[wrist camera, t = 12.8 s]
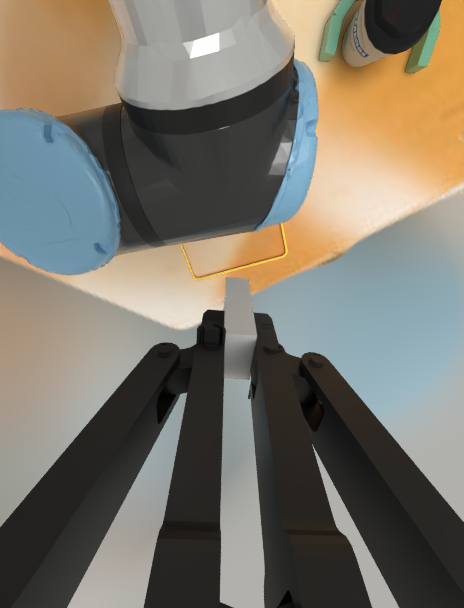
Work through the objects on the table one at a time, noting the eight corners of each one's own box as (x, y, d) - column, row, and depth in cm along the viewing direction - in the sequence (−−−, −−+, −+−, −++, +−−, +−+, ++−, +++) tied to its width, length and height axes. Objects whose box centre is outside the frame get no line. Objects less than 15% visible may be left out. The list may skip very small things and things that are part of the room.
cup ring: (318, 60, 31) (325, 52, 29) (336, -34, 28) (345, -51, 26) (413, 73, 32) (427, 66, 30) (444, -17, 28) (461, -33, 26)
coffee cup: (396, -4, 29) (468, -77, 20) (384, 76, 32) (442, 42, 23) (334, 6, 29) (378, -63, 20) (329, 83, 33) (366, 53, 24)
